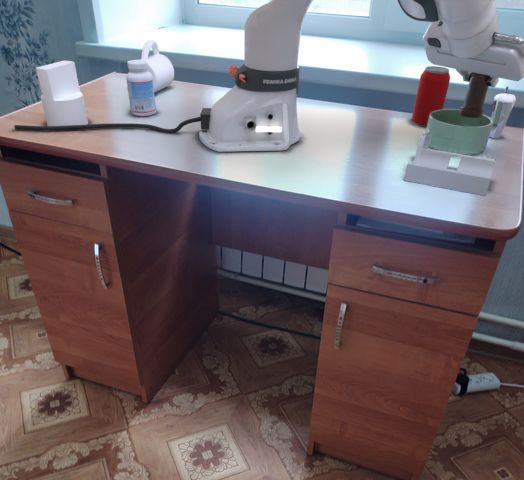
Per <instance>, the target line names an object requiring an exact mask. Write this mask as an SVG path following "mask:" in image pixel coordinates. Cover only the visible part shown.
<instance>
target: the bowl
mask: <svg viewBox="0 0 524 480" xmlns="http://www.w3.org/2000/svg"><path fill="white" fill-rule="evenodd" d="M459 111H460V108H459V109H458V108H443V109H439V110H435V111H432V112H431V113H430V115H429V119H428V123H427V126H426V128H425V133H424V134H431V135H432V136H431V141H430V145H429V148H430V149H433V150H434V149H435V150H439V151H445V152H449V151H451V153H457V154H463V155H465V154H466V153H467V154H466V155H469V156H471V155H472V156H474V154H475V155H477V154H479V153H482V152H484V151H485V150H486V148H487V145H488V142H489V139H490V137H489V136H490V133H491V129H492V126H493V120H492V119H491V118H490V117H491V116H488V115H486V114H484V113H483V115H482V117H480V118H469V117H464V116H462V115H460V114H459ZM431 145H432V146H431ZM434 146H435V147H434ZM437 146H438V147H437ZM432 147H433V148H432ZM443 147H444V148H443ZM438 148H440V149H438ZM445 148H446V149H445ZM449 148H450V149H449ZM444 149H445V150H444ZM455 149H456V151H457V152H456V151H455ZM461 151H462V152H463V153H462V152H461ZM467 151H468V152H467ZM460 152H461V153H460ZM473 152H474V153H473ZM468 153H469V154H468ZM471 153H472V154H471Z"/></svg>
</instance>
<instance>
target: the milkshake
mask: <svg viewBox="0 0 524 480" xmlns="http://www.w3.org/2000/svg"><path fill="white" fill-rule="evenodd" d="M508 91H509V86H508V85H506V86H505V89H504V93H498V94H496V95H495V96H494V97H493V102H492V108H491V112H490V116H489V117H490V118H491V119H492V120H493V126H492V129H491V133H490V136H489V138H492V139H501V138H502V135H503V132H504V129H505V127H506V125H507V122H508V120H509V117H510V114H511V112H512V110H513V108H514V106H515V104H516V101H517V97H516V95H515V94H511V93H508Z"/></svg>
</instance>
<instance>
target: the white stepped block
mask: <svg viewBox="0 0 524 480" xmlns="http://www.w3.org/2000/svg"><path fill="white" fill-rule="evenodd" d="M35 71H36V75H37V80H38V84H39V88H40V93H41V95H40V100H41V104H42V110H43V113H44V117H45V123H46V126H71V125H89V119H88V112H87V109H86V102H85V98H84V94H83V93H82V92H81V90H80V84H79V79H78V74H77V69H76V63H75V61H71V60H61V61H57V62H53V63H49V64H45V65H41V66H38V67H35Z"/></svg>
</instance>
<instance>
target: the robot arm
mask: <svg viewBox="0 0 524 480" xmlns="http://www.w3.org/2000/svg"><path fill="white" fill-rule="evenodd" d="M313 1H314V0H270V1H269V2H267V3H265V4H263V5H261V6H259V7H257V8H256V9H254V10H253V11H252V12H251V13H250V14H249V15H248V16H247V18H246V21H245V23H244V47H243V48H244V55H243V56H244V57H243V59H244V63H243V64H242V65H241V66H240V67H237V66H236V65H234V64H231V65H229V67H228V70H227V71H228V74H229V76H231V77H232V78H234V80H235V81H234V83H235V85H233V87H232V88H231V89H230V90H229V91H227V92H226V93H225V94H224V95H223V96H222V97H220V98H219V99H218V100H216V102H215V103H214V104H213V105H212V106H211V107H202V108H201V111H200V114H199V116H197V117H192V118H189V119H185V120H183V121H181V122H180V123H179V124H178V125H177V126H176V127H175V128H174V127H173V128H163V127H160V126H157V125H152V124H147V123H129V122H128V123H125V122H123V123H120V122H119V123H93V124H87V125H71V126H48V125H43V126H42V125H21V124H14V130H21V131H22V130H24V131H71V130H91V129H112V128H113V129H114V128H115V129H117V128H127V129H128V128H129V129H130V128H131V129H148V130H152V131H156V132H160V133H165V134H175V133H178V132H179V131H181V129H183V128H184V127H185V126H187V125H189V124H194V123H199V122H200V130H199V132H198V133H199V135H198V136H199V137H198V138H199V140H200V141H201V144H203V145H204V146H205V147H206V148H208V149H210V150H212V151H214V152H221V153H224V152H227V153H228V152H270V151H271V152H272V151H273V152H275V151H287V150H288V149H289V148H290V147H291V146H292V145H294V144H295V143H298V142H299V141H300V140H301V133H300V128H299V121H298V120H299V119H298V107H297V106H298V104H297V102H298V101H297V97H298V94H299V87H300V66H299V55H300V52H299V51H300V42H301V37H302V29H303V25H304V22H305V21H304V20H305V18H306V15H307V12H308V10H309V8H310V6H311V5H312V3H313ZM397 3H398V5H399V7H400V8H401V10H402V12H403V13H404V14H405V15H406V16H407V17H408V18H410V19H412V20H414V21H418V22H427V23H429V25H428V27H427V28H426V30H425V32H424V35H423V36H422V40H423V43H424V51H425V55H426V58H427V60H428V61H429V62H430V64H432V65H434V66H438V67H444V68H448V69H455V71H456V72H457V73H458V75H460V76H461V77H462V80H463V82H465V83H466V82H467V83H469V81H470V77H471V73H472V72H474V73H478V74H483V75H488V76H490V78H488V80H487V81H486V82H487V86H489V87H490V88H496V87H497V85H498V83H499V80H500V79H503V80H509V81H514V82H519V81H521V80H522V79H523V78H524V38H523V37H521V36H519V35H515V34H506V33H502V32H499V31H500V30H499V29H500V27H499V20H498V19H499V18H498V9H497V4H496V1H495V0H397ZM489 87H488V88H489Z"/></svg>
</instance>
